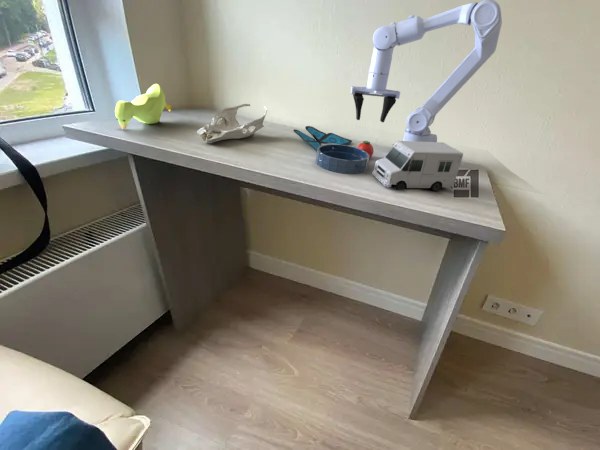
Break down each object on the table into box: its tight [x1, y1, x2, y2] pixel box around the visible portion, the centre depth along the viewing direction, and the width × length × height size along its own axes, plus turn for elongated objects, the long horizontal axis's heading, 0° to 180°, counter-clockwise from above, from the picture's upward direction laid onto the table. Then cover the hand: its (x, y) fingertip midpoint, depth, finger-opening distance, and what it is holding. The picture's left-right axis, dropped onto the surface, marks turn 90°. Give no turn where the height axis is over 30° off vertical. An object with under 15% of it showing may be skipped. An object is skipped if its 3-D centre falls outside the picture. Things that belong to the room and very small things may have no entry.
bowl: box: [315, 144, 370, 175], centre depth 101 cm, size 14×14×4 cm
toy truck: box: [371, 140, 464, 192], centre depth 92 cm, size 13×20×10 cm, turn 90°
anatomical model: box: [196, 103, 268, 144], centre depth 114 cm, size 15×9×25 cm
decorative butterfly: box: [293, 125, 353, 152], centre depth 117 cm, size 20×14×3 cm
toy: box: [114, 83, 172, 130], centre depth 117 cm, size 6×17×20 cm
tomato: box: [356, 140, 375, 159], centre depth 108 cm, size 5×5×5 cm
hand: (369, 120), depth 113 cm, fingers open, 7 cm apart
